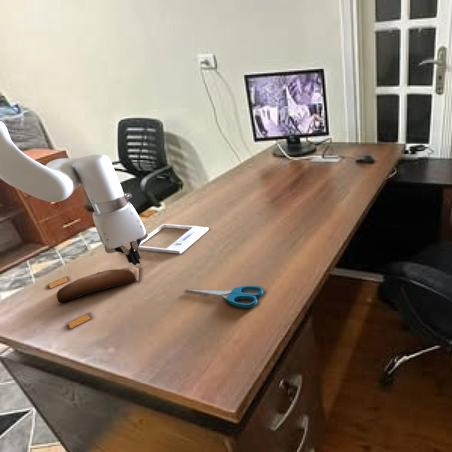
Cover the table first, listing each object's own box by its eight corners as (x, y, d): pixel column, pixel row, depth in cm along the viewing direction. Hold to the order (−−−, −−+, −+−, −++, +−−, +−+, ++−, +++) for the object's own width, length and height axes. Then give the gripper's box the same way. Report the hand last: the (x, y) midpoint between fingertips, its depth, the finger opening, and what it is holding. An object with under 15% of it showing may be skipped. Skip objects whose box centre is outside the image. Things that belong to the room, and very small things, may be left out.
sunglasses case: (139, 265, 100) (131, 254, 94) (142, 287, 97) (134, 277, 91) (66, 285, 94) (53, 275, 88) (67, 309, 91) (54, 300, 85)
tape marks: (70, 328, 80) (70, 328, 80) (48, 285, 96) (48, 284, 96) (90, 319, 82) (89, 318, 82) (65, 278, 98) (65, 277, 98)
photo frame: (179, 250, 104) (131, 245, 109) (180, 253, 104) (132, 248, 110) (207, 226, 116) (163, 223, 121) (208, 229, 117) (164, 226, 122)
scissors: (252, 305, 80) (178, 297, 85) (253, 308, 80) (179, 300, 86) (264, 286, 86) (194, 280, 91) (265, 290, 86) (195, 283, 91)
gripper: (135, 190, 96) (157, 246, 105) (73, 211, 87) (102, 270, 96) (145, 197, 91) (167, 255, 100) (81, 219, 82) (111, 281, 91)
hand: (135, 262), depth 98 cm, fingers closed
